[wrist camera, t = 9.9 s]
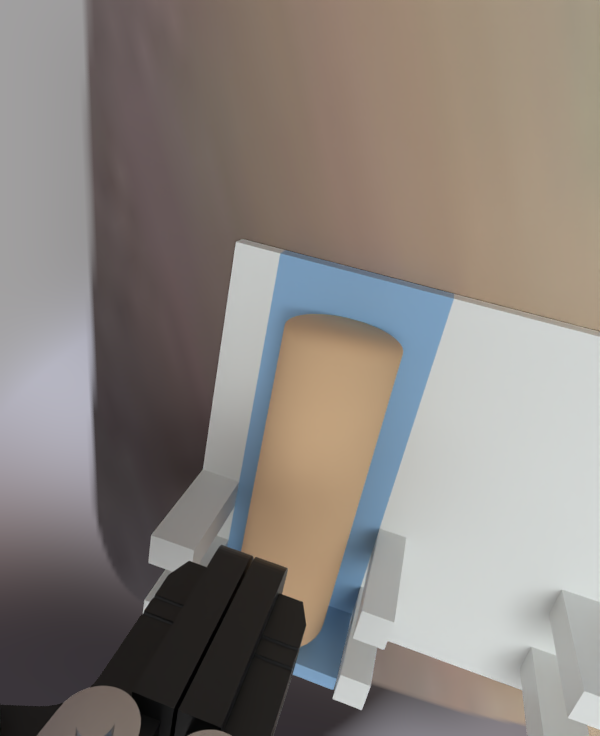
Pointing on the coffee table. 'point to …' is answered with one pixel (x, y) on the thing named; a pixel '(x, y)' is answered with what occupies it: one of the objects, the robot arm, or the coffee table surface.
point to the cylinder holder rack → (430, 485)
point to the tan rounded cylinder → (318, 451)
